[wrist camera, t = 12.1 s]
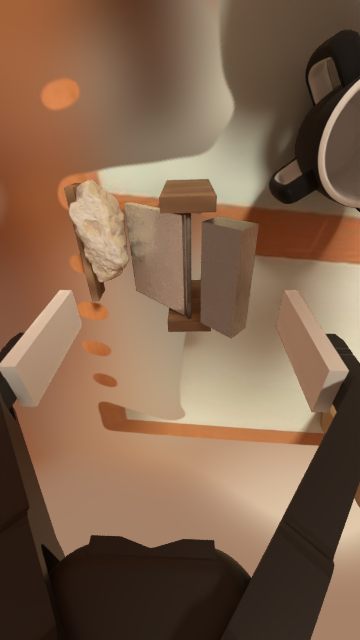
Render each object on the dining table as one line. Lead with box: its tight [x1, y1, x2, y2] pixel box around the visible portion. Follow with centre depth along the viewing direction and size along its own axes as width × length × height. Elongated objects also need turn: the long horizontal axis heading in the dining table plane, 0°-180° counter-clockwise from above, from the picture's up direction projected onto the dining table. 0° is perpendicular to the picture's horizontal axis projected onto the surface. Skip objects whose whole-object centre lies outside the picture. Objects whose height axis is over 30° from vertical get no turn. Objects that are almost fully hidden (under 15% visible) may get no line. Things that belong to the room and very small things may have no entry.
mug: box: [269, 29, 360, 212], centre depth 31 cm, size 16×16×12 cm
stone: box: [69, 180, 129, 282], centre depth 40 cm, size 8×12×10 cm
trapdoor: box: [124, 202, 259, 338], centre depth 36 cm, size 13×19×3 cm
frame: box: [64, 179, 217, 332], centre depth 39 cm, size 18×20×13 cm
